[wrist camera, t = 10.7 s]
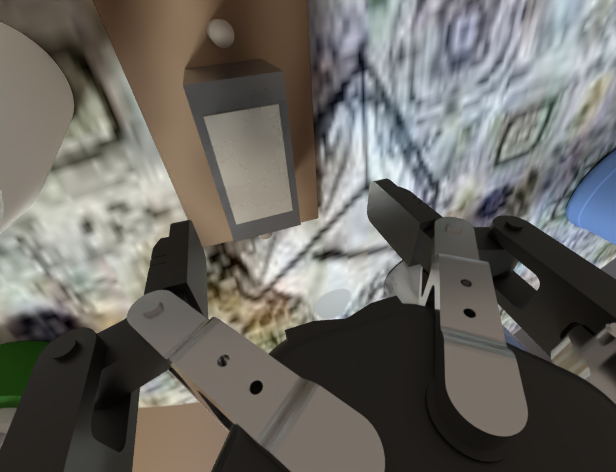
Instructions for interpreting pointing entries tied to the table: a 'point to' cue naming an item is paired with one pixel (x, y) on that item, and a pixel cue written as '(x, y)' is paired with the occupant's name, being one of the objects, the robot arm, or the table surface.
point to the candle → (15, 377)
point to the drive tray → (201, 52)
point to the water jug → (596, 200)
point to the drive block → (246, 143)
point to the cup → (28, 120)
